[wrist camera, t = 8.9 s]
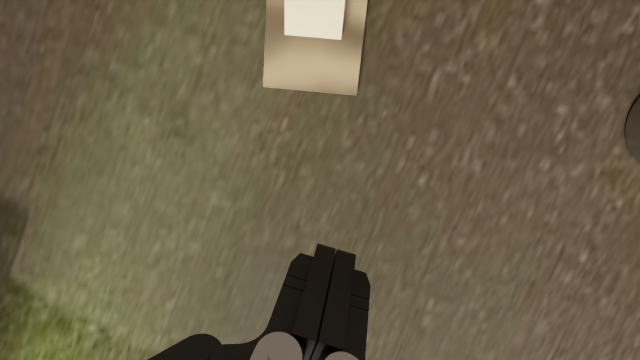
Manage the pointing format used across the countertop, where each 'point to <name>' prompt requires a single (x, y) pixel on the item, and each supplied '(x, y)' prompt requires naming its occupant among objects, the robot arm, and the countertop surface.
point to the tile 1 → (314, 18)
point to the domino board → (314, 54)
